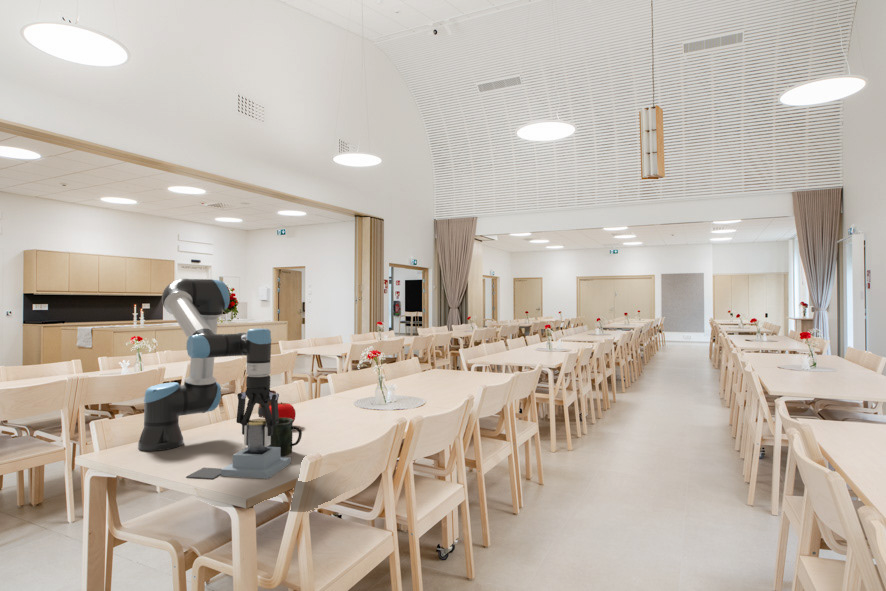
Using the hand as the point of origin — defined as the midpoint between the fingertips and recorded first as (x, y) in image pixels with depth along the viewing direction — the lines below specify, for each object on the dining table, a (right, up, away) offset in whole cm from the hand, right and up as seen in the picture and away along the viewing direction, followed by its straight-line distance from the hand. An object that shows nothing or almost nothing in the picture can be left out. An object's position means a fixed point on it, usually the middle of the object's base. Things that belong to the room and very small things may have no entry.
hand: (257, 444), depth 169 cm
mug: (+3, -9, +18) cm, 20 cm away
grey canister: (0, -6, 0) cm, 6 cm away
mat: (-14, -8, -5) cm, 17 cm away
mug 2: (-24, -10, +83) cm, 87 cm away
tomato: (-11, -9, +58) cm, 60 cm away
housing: (0, -8, 0) cm, 8 cm away
